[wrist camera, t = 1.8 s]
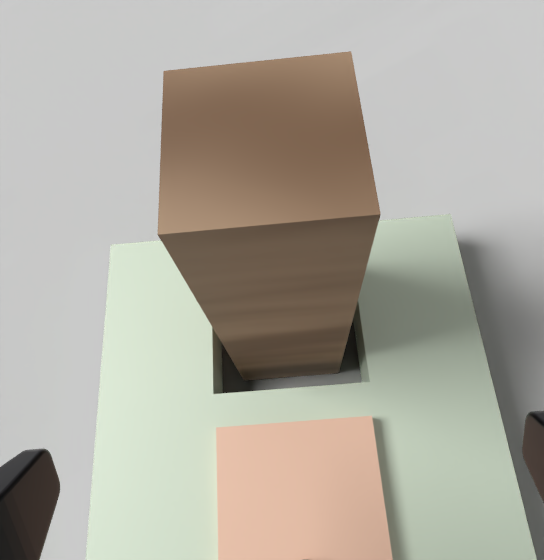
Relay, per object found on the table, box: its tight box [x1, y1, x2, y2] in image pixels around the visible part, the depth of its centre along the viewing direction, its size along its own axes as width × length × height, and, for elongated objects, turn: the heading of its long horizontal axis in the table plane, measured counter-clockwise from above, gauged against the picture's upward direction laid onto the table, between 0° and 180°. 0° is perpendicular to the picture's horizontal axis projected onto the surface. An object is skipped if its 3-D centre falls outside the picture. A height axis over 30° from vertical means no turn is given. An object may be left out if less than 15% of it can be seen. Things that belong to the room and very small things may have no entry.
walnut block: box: [158, 52, 380, 381], centre depth 17 cm, size 4×4×14 cm
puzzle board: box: [86, 214, 537, 560], centre depth 20 cm, size 16×16×4 cm
